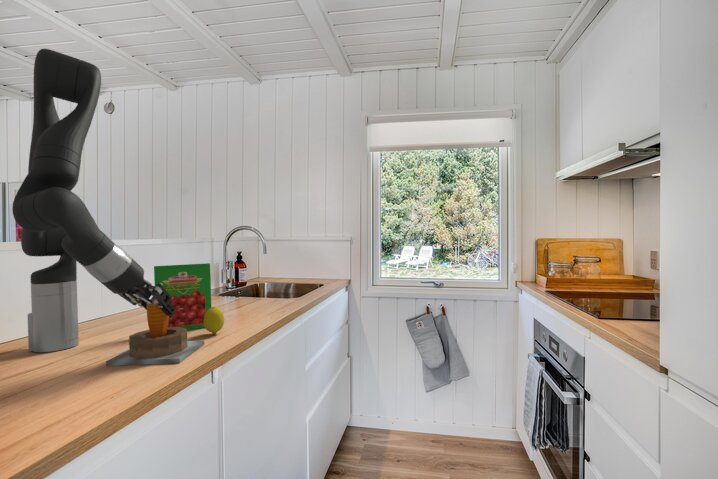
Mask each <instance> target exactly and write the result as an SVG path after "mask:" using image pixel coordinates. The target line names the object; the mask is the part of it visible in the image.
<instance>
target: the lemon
mask: <svg viewBox="0 0 718 479" xmlns="http://www.w3.org/2000/svg"><path fill="white" fill-rule="evenodd" d="M224 324H225V315H224V313H223V311H222V309H220V308H218V307H216V306H211V309H209V310H208V311H207V312H206V313H205V316H204V327H205V328H204V329H205V330H206V331H207V332H209V333H211V334H213V335H216V334H217V333H218V332H219V331H221V330H222V329H223V326H224Z"/></svg>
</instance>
